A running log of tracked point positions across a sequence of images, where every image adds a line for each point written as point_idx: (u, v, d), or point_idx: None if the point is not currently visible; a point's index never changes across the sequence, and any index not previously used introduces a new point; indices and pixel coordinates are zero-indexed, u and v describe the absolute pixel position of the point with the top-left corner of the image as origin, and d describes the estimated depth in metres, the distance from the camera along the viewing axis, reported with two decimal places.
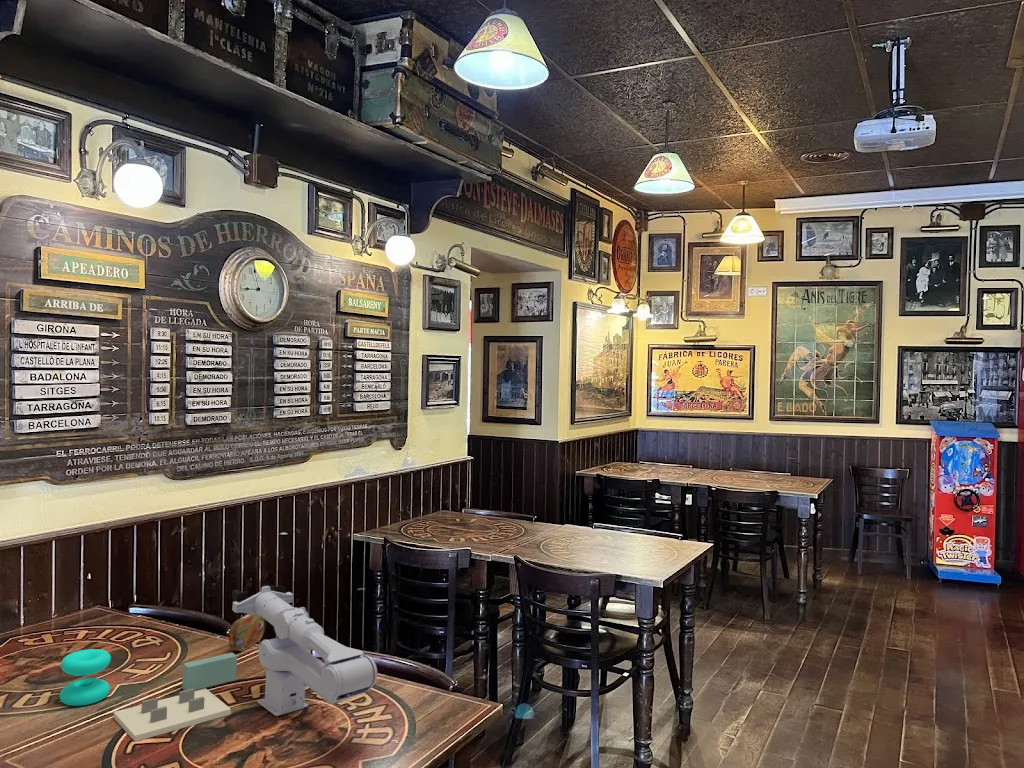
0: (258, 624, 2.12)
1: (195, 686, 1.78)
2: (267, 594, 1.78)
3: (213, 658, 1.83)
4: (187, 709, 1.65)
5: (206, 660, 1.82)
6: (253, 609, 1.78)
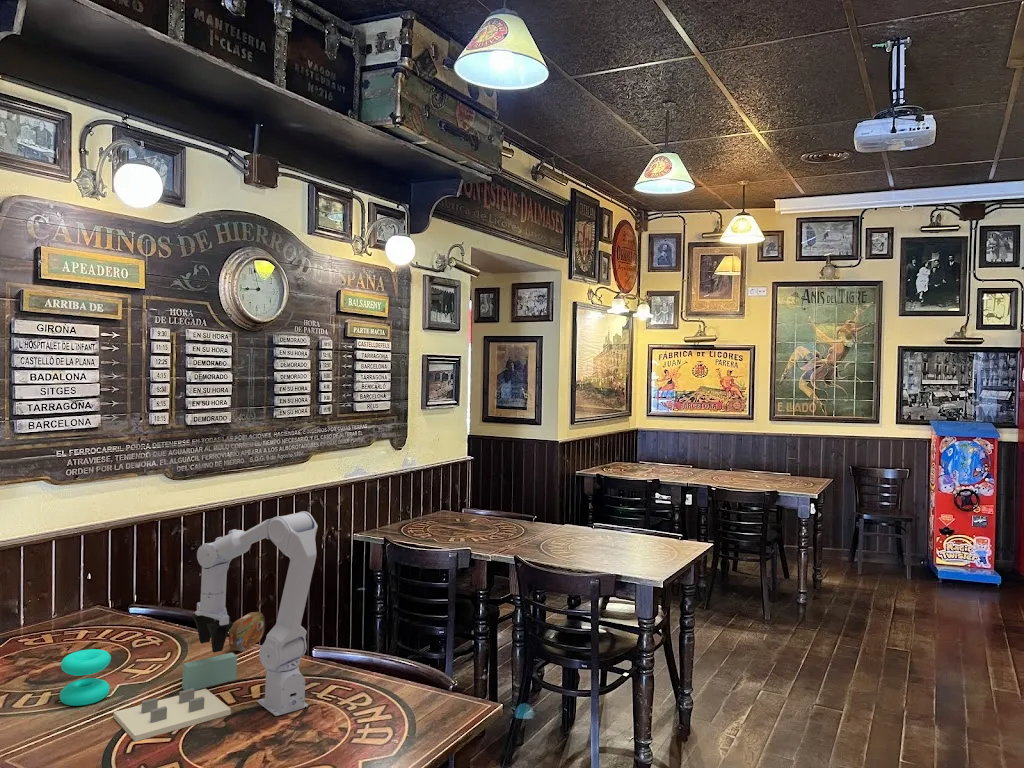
0: (258, 624, 2.12)
1: (195, 686, 1.78)
2: (202, 605, 1.80)
3: (213, 658, 1.83)
4: (187, 709, 1.65)
5: (206, 660, 1.82)
6: (221, 611, 1.81)
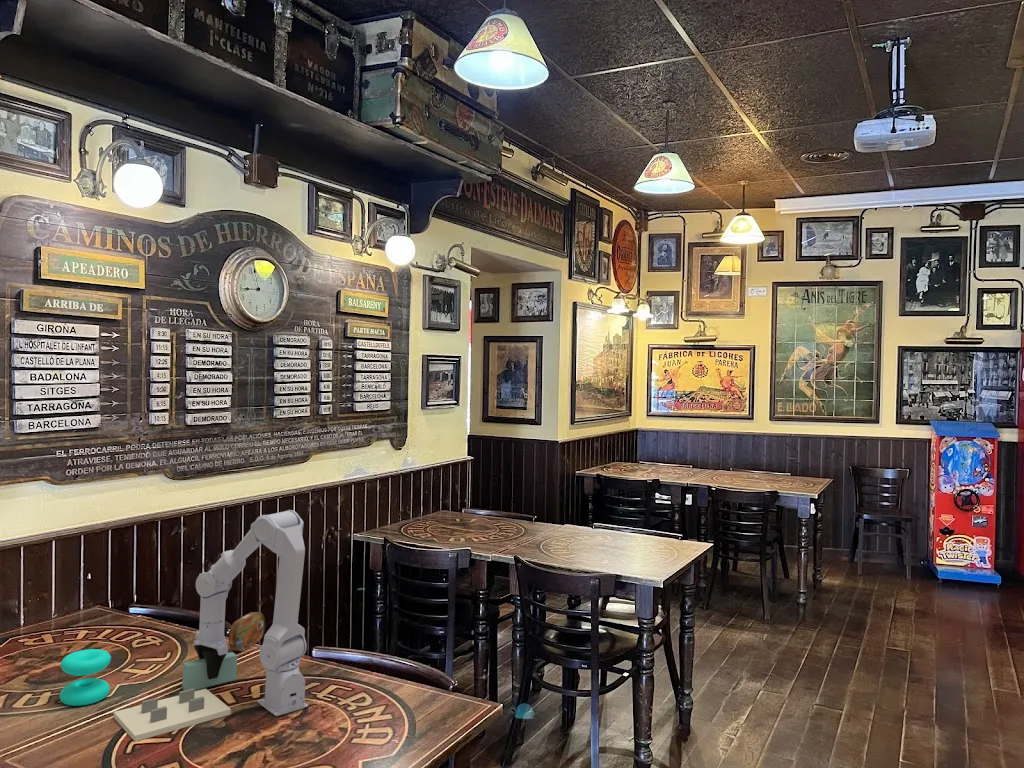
0: (258, 624, 2.12)
1: (195, 685, 1.78)
2: (200, 635, 1.80)
3: None
4: (187, 709, 1.65)
5: None
6: (220, 640, 1.81)
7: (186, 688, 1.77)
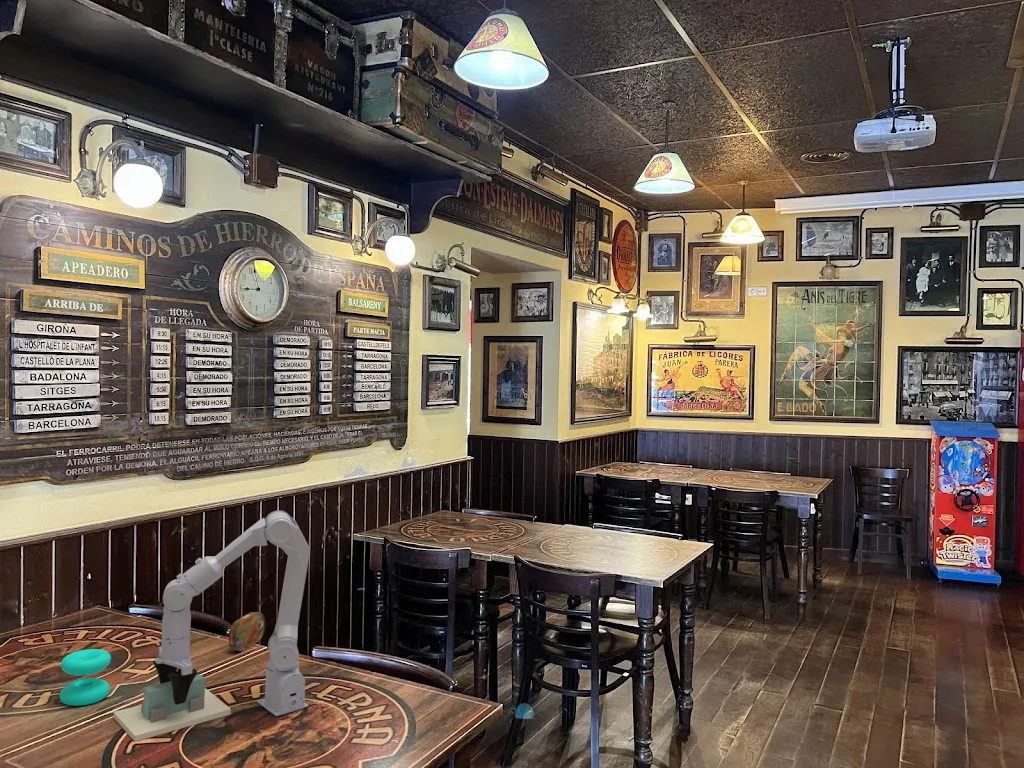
0: (258, 624, 2.12)
1: None
2: (162, 652, 1.62)
3: None
4: None
5: (170, 683, 1.64)
6: (184, 658, 1.63)
7: (147, 716, 1.60)
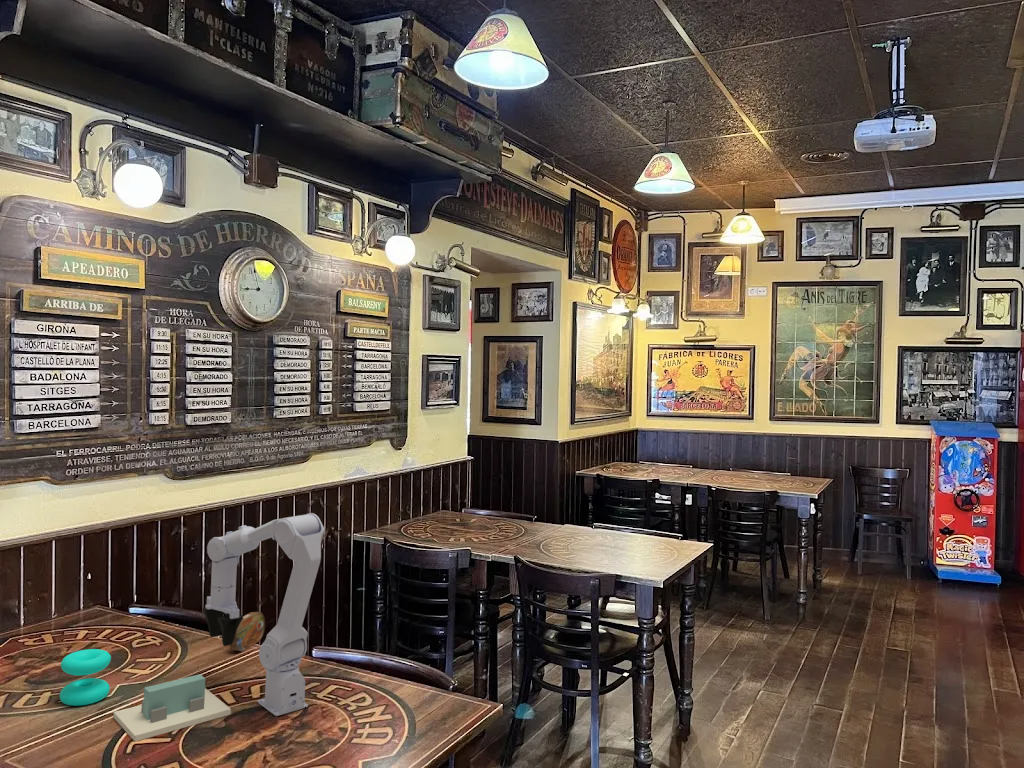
0: (258, 624, 2.12)
1: None
2: (212, 599, 1.80)
3: (178, 681, 1.65)
4: None
5: (170, 683, 1.64)
6: (231, 605, 1.81)
7: (147, 716, 1.60)
